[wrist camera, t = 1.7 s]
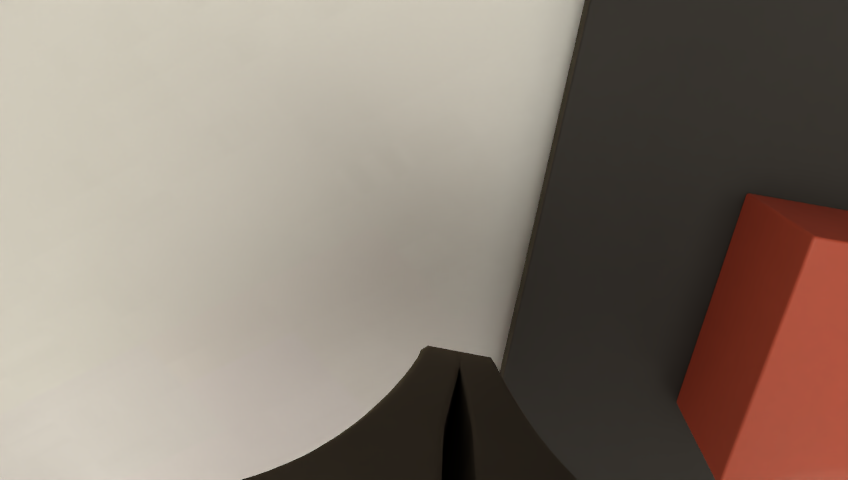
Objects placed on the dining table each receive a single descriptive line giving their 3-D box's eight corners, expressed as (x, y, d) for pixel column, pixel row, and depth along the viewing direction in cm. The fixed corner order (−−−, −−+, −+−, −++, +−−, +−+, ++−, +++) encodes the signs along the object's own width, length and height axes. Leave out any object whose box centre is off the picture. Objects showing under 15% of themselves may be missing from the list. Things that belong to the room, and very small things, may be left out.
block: (832, 432, 21) (911, 524, 17) (674, 402, 21) (717, 487, 17) (923, 223, 18) (1039, 276, 14) (745, 192, 18) (813, 236, 15)
